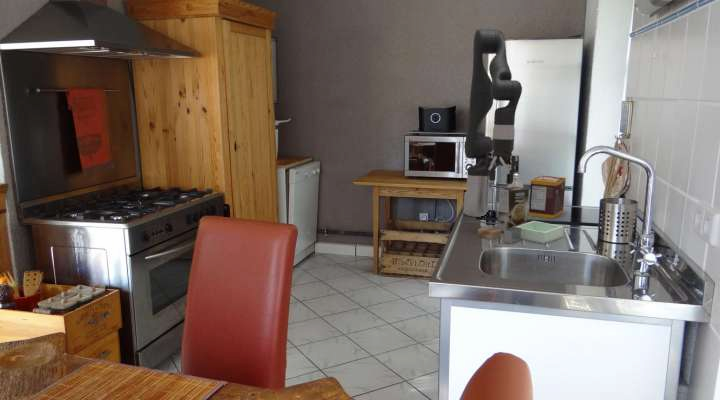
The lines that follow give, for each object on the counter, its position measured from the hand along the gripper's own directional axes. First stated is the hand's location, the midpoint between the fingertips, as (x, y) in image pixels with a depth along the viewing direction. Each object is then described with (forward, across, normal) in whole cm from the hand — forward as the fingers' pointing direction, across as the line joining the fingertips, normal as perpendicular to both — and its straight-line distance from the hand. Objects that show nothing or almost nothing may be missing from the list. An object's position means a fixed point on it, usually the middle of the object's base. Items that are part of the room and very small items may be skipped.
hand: (500, 182), depth 193 cm
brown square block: (+19, +3, -6) cm, 21 cm away
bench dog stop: (+19, +11, -4) cm, 22 cm away
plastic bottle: (+19, -9, +17) cm, 27 cm away
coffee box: (+19, 0, +8) cm, 21 cm away
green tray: (+19, +12, +8) cm, 24 cm away
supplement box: (+19, -14, +41) cm, 48 cm away
